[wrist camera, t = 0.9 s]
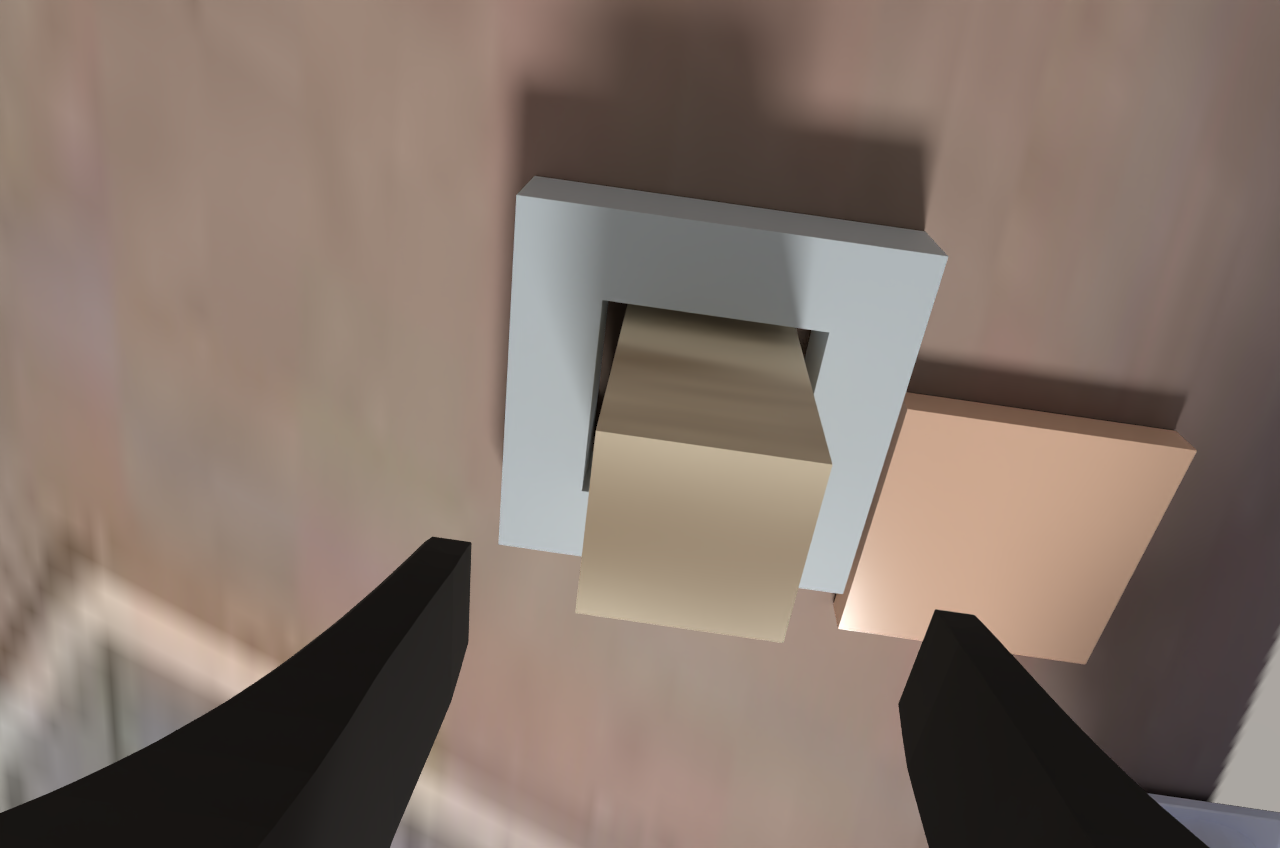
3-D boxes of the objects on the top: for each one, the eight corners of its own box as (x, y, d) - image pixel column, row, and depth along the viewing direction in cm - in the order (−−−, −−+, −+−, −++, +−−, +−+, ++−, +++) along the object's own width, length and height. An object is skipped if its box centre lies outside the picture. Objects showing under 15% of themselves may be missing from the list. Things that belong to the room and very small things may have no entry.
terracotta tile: (1071, 639, 24) (1085, 664, 23) (833, 604, 24) (838, 628, 23) (1175, 430, 20) (1197, 450, 19) (898, 391, 20) (907, 409, 20)
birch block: (761, 457, 22) (783, 642, 15) (612, 436, 22) (575, 612, 15) (793, 317, 20) (832, 464, 14) (630, 294, 20) (595, 430, 14)
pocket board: (832, 547, 23) (843, 594, 21) (515, 501, 23) (498, 544, 21) (924, 231, 19) (947, 256, 17) (534, 175, 19) (516, 195, 17)
